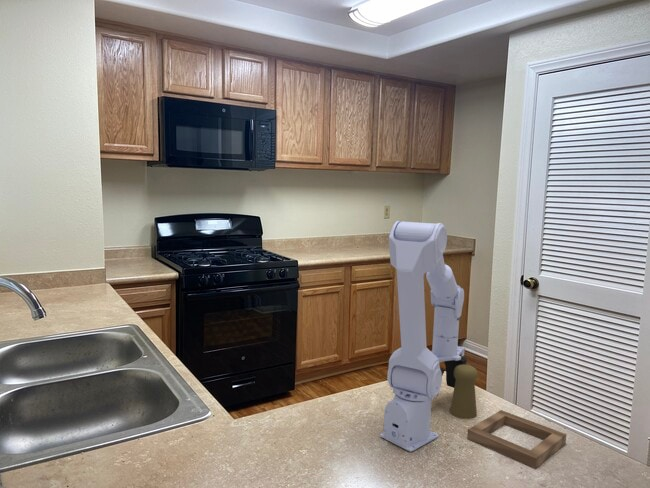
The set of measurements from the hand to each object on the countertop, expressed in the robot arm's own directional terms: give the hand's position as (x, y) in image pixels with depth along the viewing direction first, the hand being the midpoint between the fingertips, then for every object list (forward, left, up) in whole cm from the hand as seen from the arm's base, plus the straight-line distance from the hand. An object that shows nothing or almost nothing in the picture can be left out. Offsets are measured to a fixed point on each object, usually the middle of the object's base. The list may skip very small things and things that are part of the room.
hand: (442, 390), depth 113 cm
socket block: (-3, -20, -3) cm, 20 cm away
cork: (0, -6, -4) cm, 7 cm away
